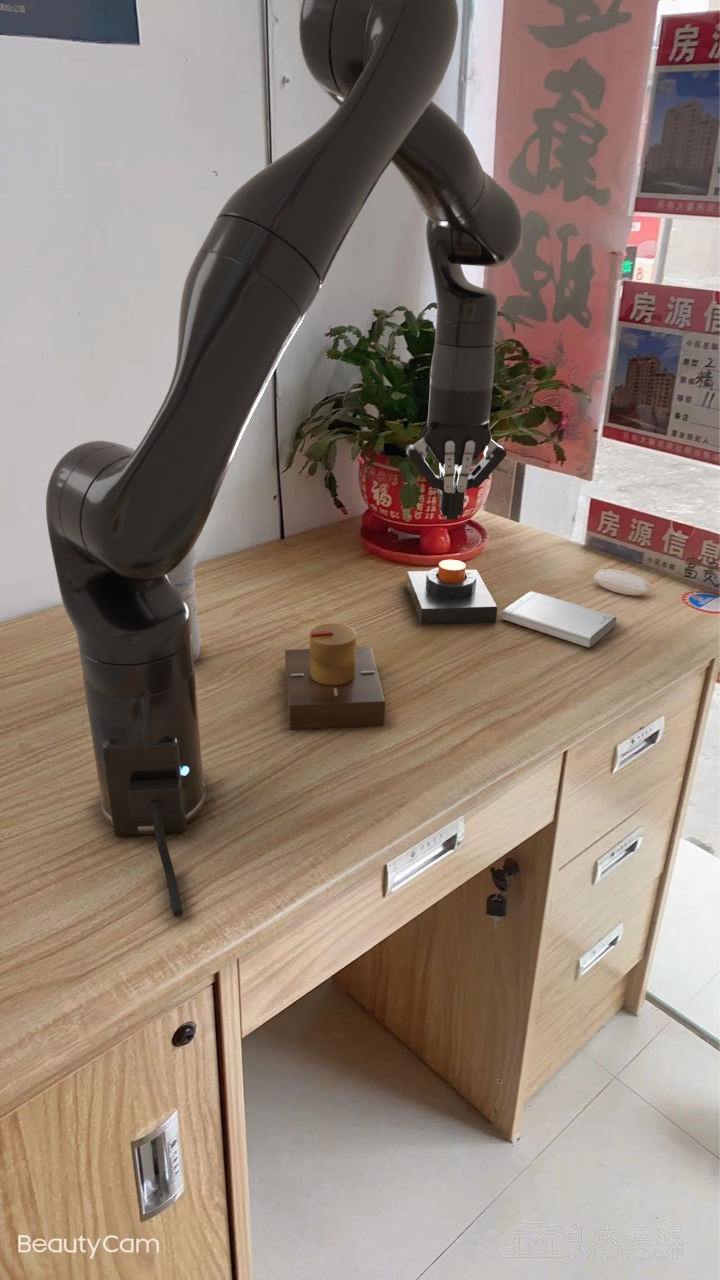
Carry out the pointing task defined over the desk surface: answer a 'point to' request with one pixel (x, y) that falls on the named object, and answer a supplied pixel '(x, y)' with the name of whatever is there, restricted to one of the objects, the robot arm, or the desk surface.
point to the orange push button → (451, 571)
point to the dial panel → (333, 694)
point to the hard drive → (559, 618)
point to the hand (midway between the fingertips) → (450, 518)
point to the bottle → (188, 594)
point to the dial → (332, 654)
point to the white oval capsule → (622, 582)
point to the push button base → (450, 598)
